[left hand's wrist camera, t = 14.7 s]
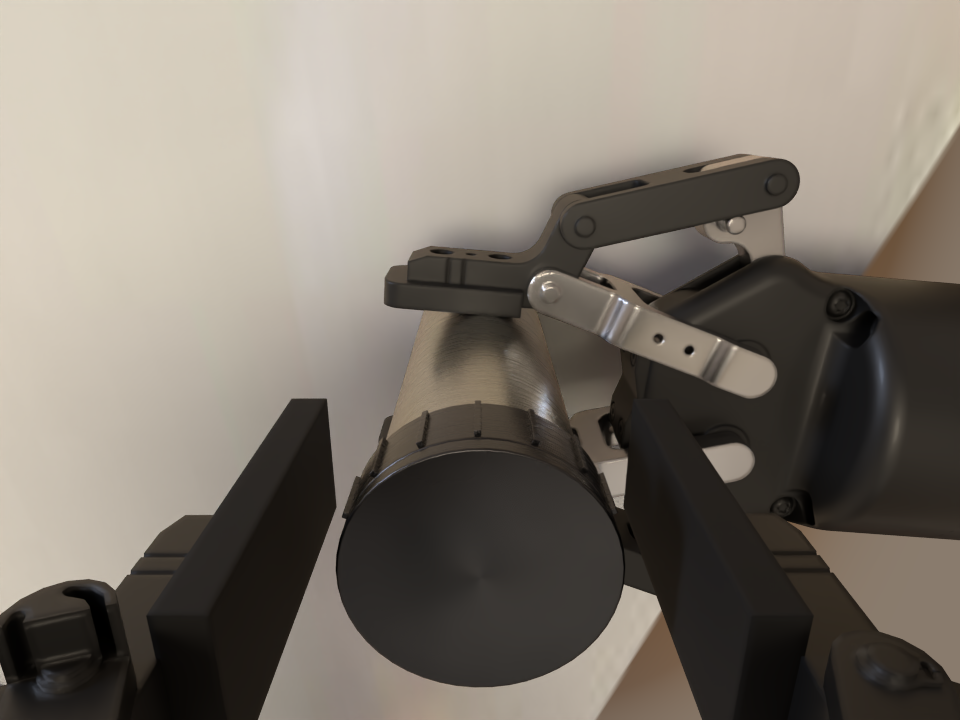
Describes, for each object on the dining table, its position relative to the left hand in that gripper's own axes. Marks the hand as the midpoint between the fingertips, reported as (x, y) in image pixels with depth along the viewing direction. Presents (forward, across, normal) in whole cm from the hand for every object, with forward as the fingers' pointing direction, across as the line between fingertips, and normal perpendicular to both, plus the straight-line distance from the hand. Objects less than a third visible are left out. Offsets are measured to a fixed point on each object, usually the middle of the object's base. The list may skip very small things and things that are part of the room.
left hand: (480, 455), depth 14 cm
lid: (-4, 0, 0) cm, 4 cm away
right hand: (+5, -3, 0) cm, 6 cm away
